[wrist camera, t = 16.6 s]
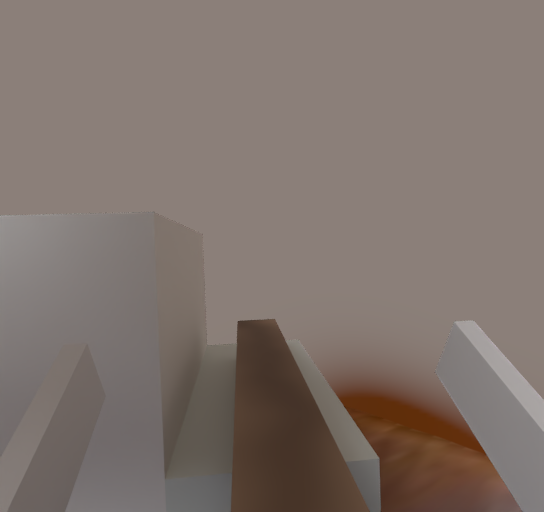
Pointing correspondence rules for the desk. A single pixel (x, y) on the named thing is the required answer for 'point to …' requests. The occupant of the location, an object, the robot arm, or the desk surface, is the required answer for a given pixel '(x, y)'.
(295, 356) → the two-step riser
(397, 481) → the desk surface
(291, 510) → the walnut rod
